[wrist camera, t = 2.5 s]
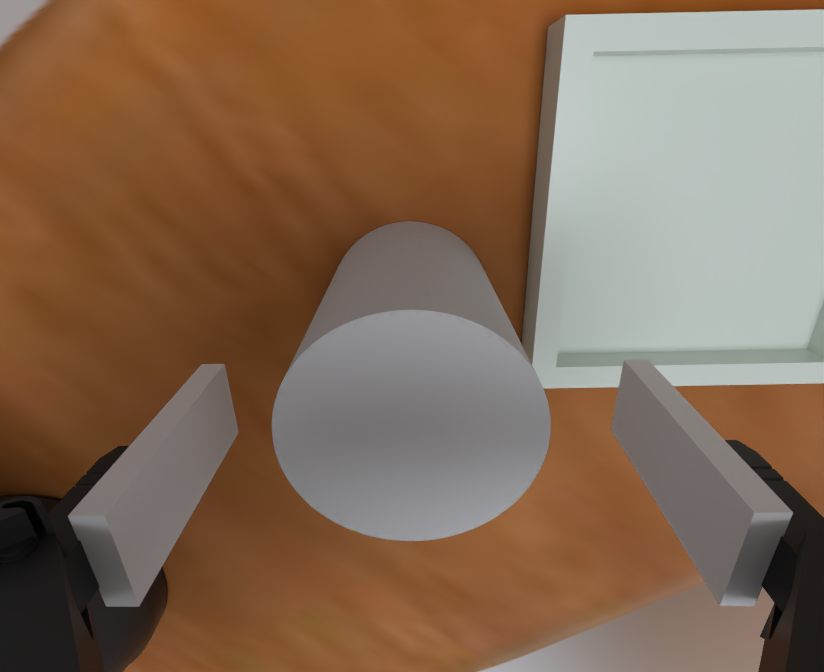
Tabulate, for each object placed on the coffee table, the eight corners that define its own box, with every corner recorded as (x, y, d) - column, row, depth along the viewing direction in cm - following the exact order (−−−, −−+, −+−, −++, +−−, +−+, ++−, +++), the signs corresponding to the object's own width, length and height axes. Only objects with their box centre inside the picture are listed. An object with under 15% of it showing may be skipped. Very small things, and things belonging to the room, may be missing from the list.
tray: (519, 365, 27) (530, 388, 24) (547, 26, 20) (565, 15, 18) (807, 360, 26) (845, 382, 24) (931, 18, 20) (998, 5, 18)
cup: (305, 257, 24) (218, 371, 13) (458, 195, 23) (502, 263, 12) (370, 387, 27) (343, 567, 16) (507, 339, 26) (579, 498, 15)
